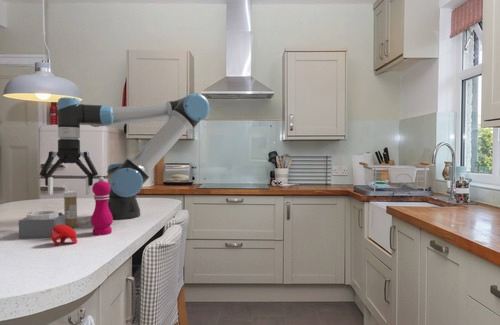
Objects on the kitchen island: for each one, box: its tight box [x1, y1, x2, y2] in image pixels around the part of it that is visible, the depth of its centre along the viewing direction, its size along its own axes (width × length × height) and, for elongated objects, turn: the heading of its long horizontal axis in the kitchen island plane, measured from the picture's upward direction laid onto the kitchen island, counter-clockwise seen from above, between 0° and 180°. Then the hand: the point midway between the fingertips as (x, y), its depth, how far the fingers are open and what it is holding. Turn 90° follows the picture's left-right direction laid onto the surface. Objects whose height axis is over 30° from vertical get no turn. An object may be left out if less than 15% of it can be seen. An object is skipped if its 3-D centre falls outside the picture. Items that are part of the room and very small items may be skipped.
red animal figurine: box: [50, 225, 78, 247], centre depth 113 cm, size 8×6×6 cm
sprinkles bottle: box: [63, 190, 78, 228], centre depth 138 cm, size 5×5×13 cm
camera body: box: [18, 210, 65, 239], centre depth 125 cm, size 11×10×8 cm
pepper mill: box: [90, 176, 114, 236], centre depth 126 cm, size 7×7×20 cm
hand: (69, 194), depth 137 cm, fingers open, 13 cm apart
